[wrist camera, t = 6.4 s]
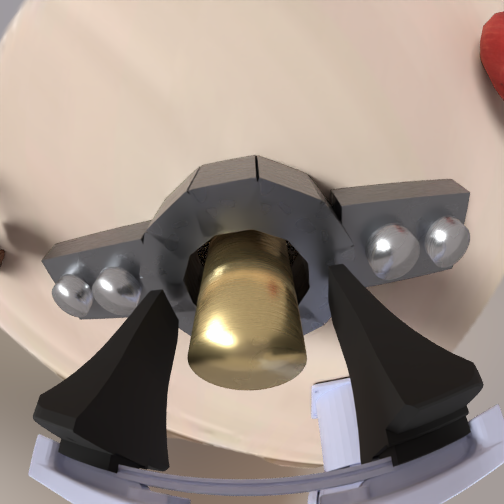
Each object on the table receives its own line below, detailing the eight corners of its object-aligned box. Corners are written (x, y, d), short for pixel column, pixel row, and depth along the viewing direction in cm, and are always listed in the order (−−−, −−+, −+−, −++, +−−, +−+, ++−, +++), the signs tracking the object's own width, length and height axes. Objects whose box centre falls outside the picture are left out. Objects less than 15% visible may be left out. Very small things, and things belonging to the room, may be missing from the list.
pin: (286, 274, 15) (303, 386, 10) (216, 279, 16) (203, 390, 10) (284, 210, 13) (310, 323, 7) (203, 217, 13) (172, 330, 8)
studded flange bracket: (431, 277, 16) (451, 307, 13) (103, 321, 18) (90, 352, 16) (454, 141, 11) (490, 160, 8) (40, 214, 13) (13, 241, 10)
